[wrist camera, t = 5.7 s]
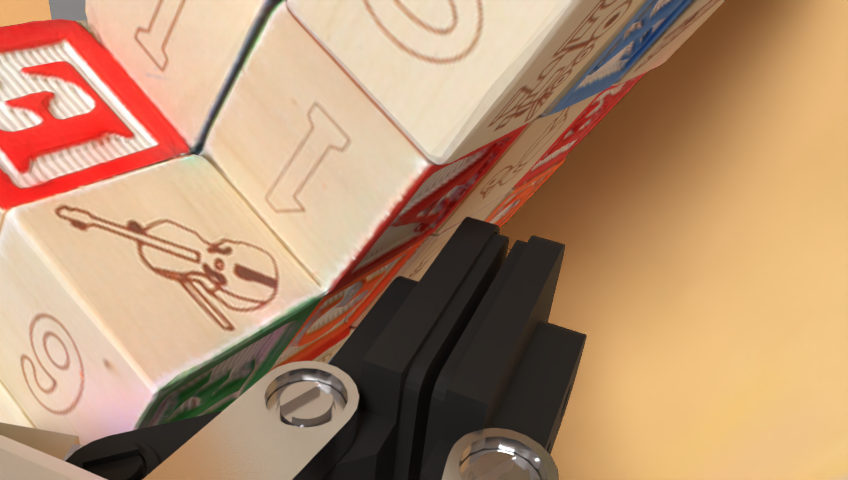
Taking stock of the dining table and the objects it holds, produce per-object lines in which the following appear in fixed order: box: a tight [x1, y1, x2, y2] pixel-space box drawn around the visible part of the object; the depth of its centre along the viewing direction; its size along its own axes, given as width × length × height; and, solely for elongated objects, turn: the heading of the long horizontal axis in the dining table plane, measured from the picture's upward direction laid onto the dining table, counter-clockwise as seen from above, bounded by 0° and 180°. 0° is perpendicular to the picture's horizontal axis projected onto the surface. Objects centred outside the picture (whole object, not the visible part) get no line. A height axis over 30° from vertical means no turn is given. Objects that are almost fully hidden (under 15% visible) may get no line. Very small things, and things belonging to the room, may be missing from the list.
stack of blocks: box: [0, 0, 725, 445], centre depth 15 cm, size 21×6×12 cm, turn 146°
